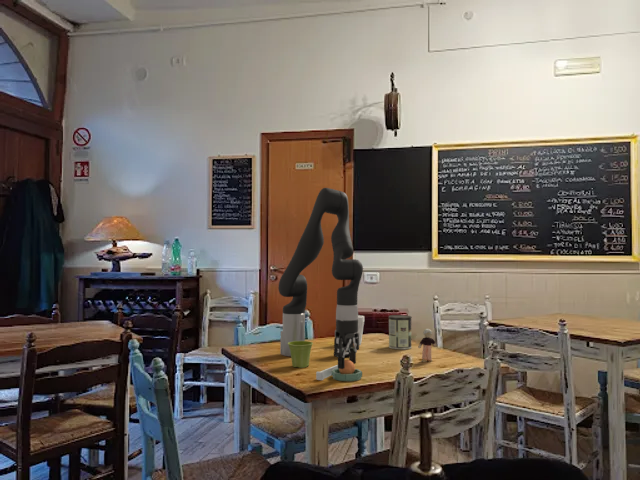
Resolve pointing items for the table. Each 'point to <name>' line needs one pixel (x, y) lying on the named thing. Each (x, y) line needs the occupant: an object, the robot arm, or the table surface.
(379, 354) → the table surface
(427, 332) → the grandmother figurine
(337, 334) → the supplement container
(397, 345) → the coffee can
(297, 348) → the plant pot
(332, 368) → the white long bar
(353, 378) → the saucer
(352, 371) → the ball
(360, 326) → the foam cup
